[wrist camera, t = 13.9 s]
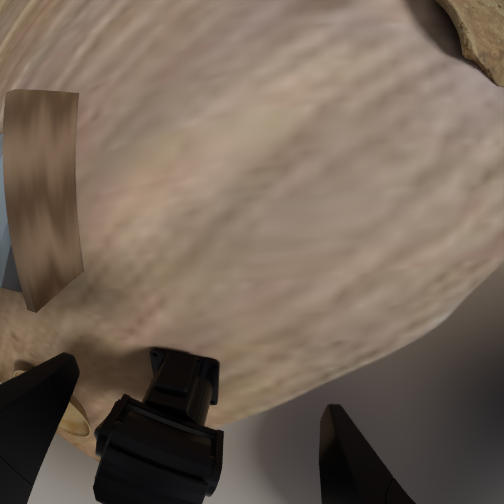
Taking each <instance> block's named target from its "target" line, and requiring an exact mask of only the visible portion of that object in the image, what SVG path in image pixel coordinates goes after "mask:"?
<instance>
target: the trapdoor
mask: <svg viewBox="0 0 504 504" xmlns="http://www.w3.org/2000/svg"><path fill="white" fill-rule="evenodd" d="M1 135H2V136H3V134H1ZM10 246H11V239H10V233H9V226H8V219H7V211H6V202H5V192H4V177H3V155H2V157H1V159H0V288H1V287H2V288H6V289H9V290H13V291H17V292H21V293H23V292H22V289H21V285H20V281H19V277H18V273H17V269H16V264H15V260H14V255H13V250H12V247H10Z"/></svg>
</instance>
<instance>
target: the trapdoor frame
mask: <svg viewBox="0 0 504 504" xmlns="http://www.w3.org/2000/svg"><path fill="white" fill-rule="evenodd" d="M78 97H79V93H71V92H59V91H44V90H18V89H15V90H12V91H9V92H6V97H5V108H4V122H3V177H4V192H5V202H6V211H7V219H8V226H9V233H10V239H11V244H12V250H13V255H14V260H15V264H16V269H17V273H18V277H19V281H20V285H21V289H22V292H23V296H24V299H25V303H26V306H27V309H28V310H30V311H32V312H35V313H37V312H38V311H39V310H40V309H41V308H42V307H43V306H44V305H45V304H46V303H47V302H48V301H50V300H51V299H52V298H53V297H54V296H55V295H56V294H57V293H59V292H60V291H61V290H62V289H63V288H64V287H65V286H67V285H68V284H69V283H70V282H71V281H72V280H74V279H75V278H76V277H77V276H78V275H79V274H81V273H82V272H83V271H84V269H83V263H82V255H81V248H80V239H79V229H78V218H77V203H76V180H75V145H76V122H77V108H78Z"/></svg>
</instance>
